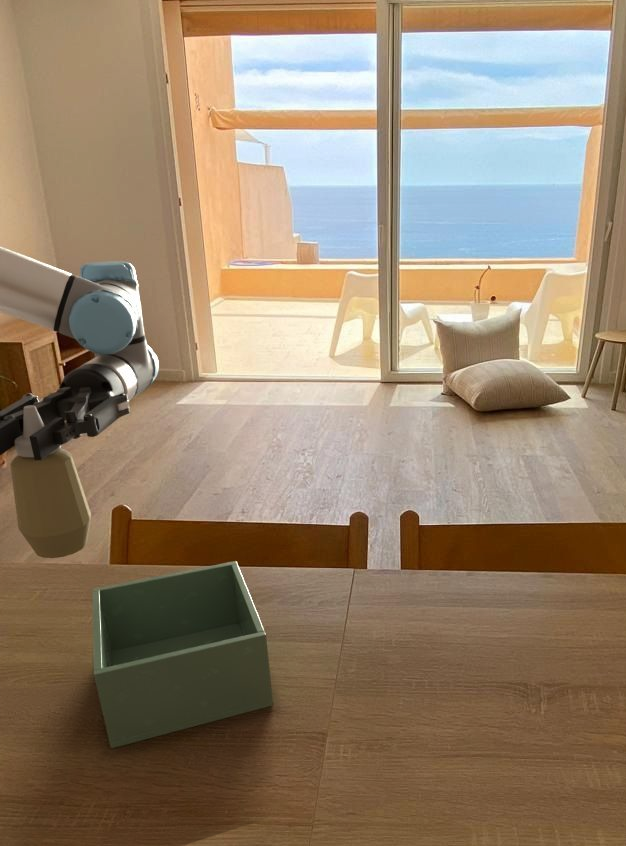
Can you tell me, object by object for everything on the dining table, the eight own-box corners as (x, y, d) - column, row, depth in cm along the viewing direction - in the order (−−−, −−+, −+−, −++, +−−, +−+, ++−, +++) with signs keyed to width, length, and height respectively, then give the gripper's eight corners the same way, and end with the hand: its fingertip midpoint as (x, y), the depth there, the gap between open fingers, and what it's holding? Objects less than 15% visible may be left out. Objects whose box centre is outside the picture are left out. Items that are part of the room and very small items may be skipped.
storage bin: (106, 654, 89) (92, 588, 85) (243, 623, 95) (236, 560, 90) (111, 748, 74) (93, 674, 70) (273, 705, 80) (266, 634, 76)
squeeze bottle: (9, 559, 83) (-29, 414, 75) (57, 529, 90) (26, 394, 82) (66, 568, 81) (32, 420, 73) (110, 537, 88) (83, 399, 80)
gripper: (165, 415, 97) (98, 480, 75) (41, 415, 97) (-61, 480, 76) (158, 362, 94) (86, 414, 72) (29, 362, 94) (-81, 414, 73)
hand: (11, 448), depth 74 cm, fingers closed on squeeze bottle, 5 cm apart
